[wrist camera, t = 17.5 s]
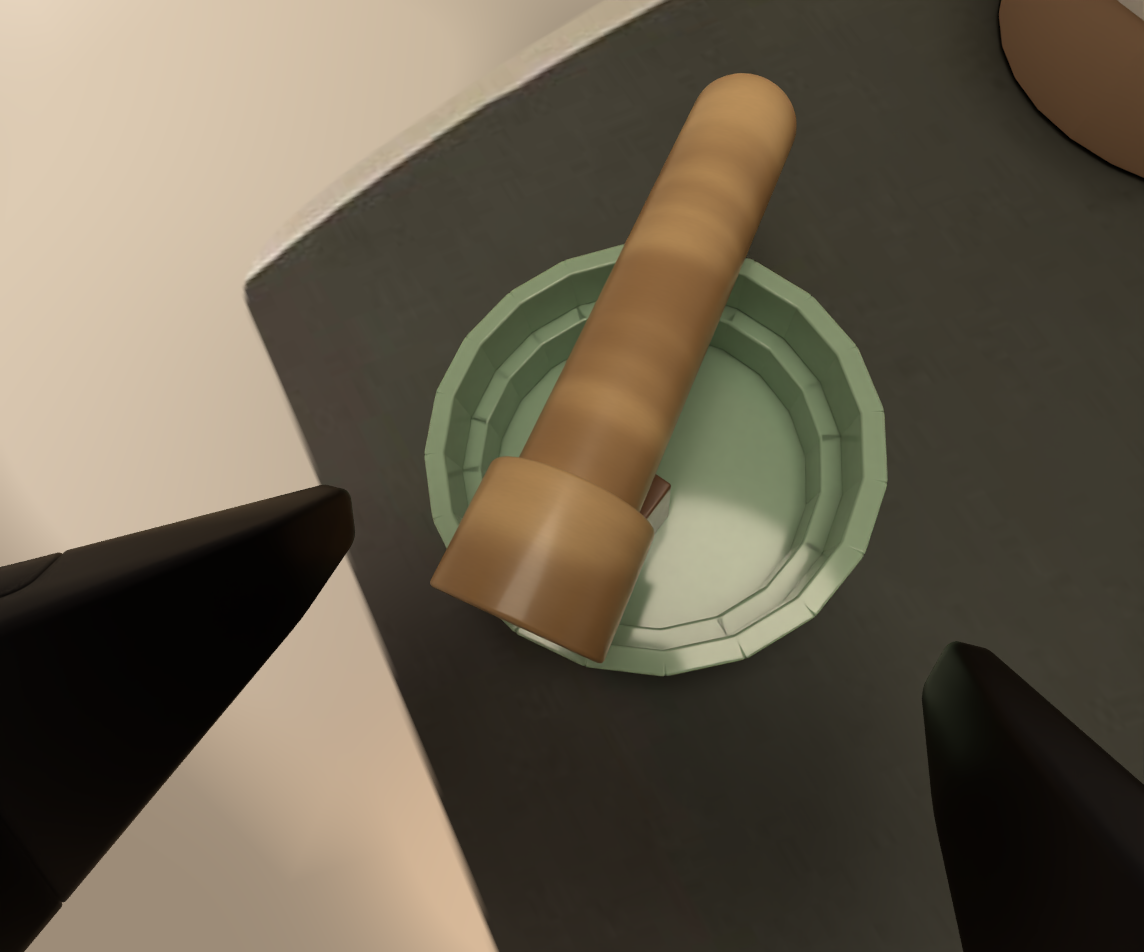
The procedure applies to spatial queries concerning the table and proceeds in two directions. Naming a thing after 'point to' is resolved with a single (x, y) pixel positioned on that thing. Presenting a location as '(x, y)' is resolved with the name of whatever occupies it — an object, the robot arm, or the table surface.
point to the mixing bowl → (694, 461)
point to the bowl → (1083, 70)
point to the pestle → (623, 387)
